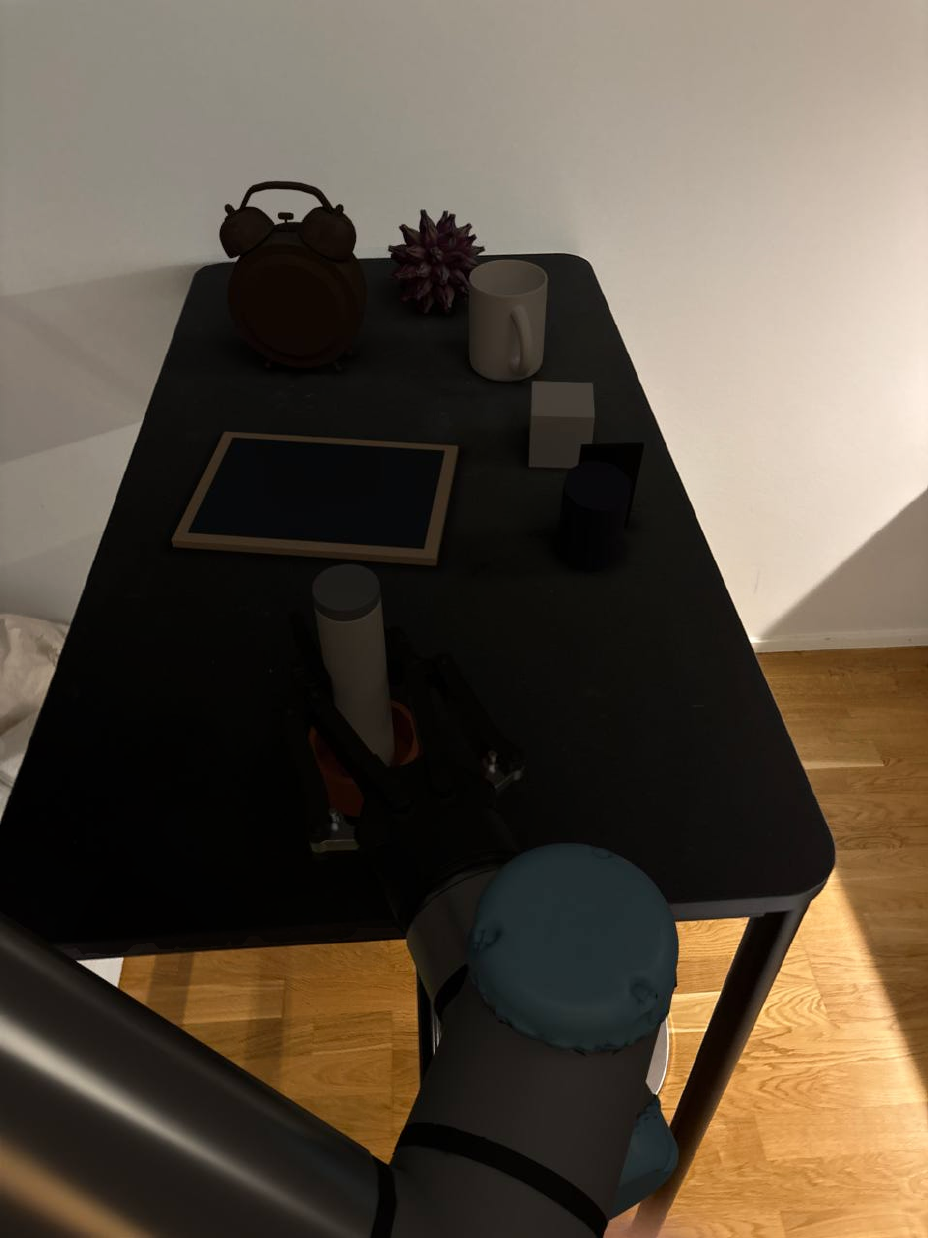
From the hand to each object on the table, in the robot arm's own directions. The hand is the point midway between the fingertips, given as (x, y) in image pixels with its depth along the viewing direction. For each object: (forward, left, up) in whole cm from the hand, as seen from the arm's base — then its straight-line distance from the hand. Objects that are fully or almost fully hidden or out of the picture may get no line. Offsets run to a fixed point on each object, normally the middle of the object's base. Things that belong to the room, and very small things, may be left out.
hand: (330, 616), depth 67 cm
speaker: (+19, +21, -11) cm, 31 cm away
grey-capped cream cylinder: (+3, -5, -11) cm, 12 cm away
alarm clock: (-14, +50, -11) cm, 54 cm away
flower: (-1, +64, -11) cm, 65 cm away
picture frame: (-7, +26, -11) cm, 30 cm away
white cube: (+15, +36, -11) cm, 41 cm away
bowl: (+3, -5, -11) cm, 12 cm away
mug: (+9, +50, -11) cm, 52 cm away
